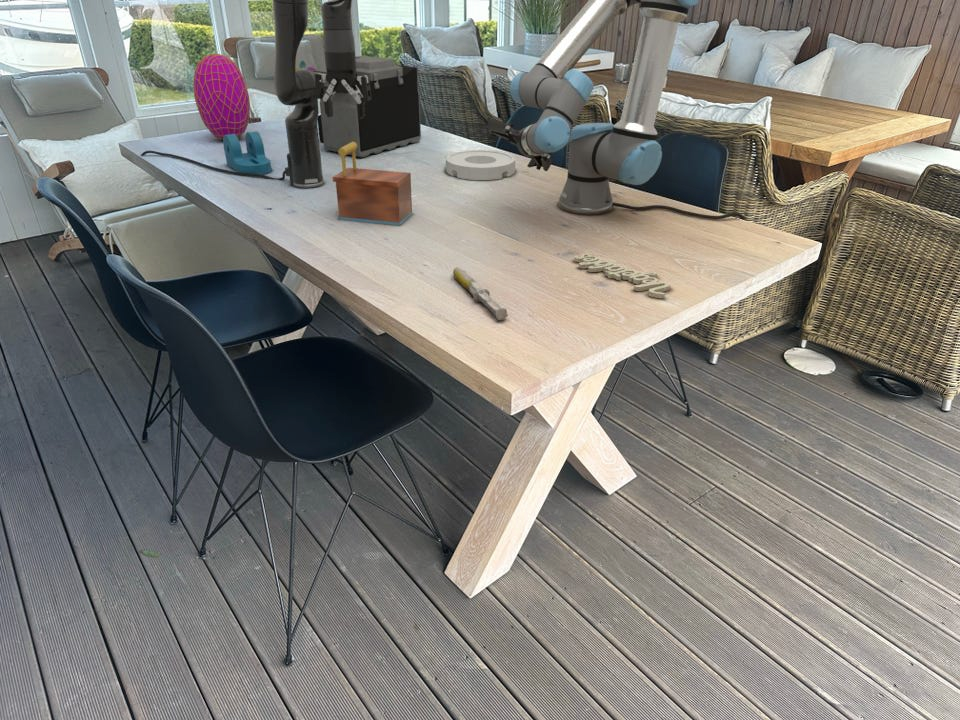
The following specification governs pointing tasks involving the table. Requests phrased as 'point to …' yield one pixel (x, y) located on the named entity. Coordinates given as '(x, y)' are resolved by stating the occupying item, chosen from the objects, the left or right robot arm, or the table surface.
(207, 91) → the decorative egg
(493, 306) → the syringe
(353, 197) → the chest
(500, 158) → the ashtray
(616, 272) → the decorative sign
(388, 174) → the lid
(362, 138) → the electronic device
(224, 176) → the table surface
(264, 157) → the camera mount
